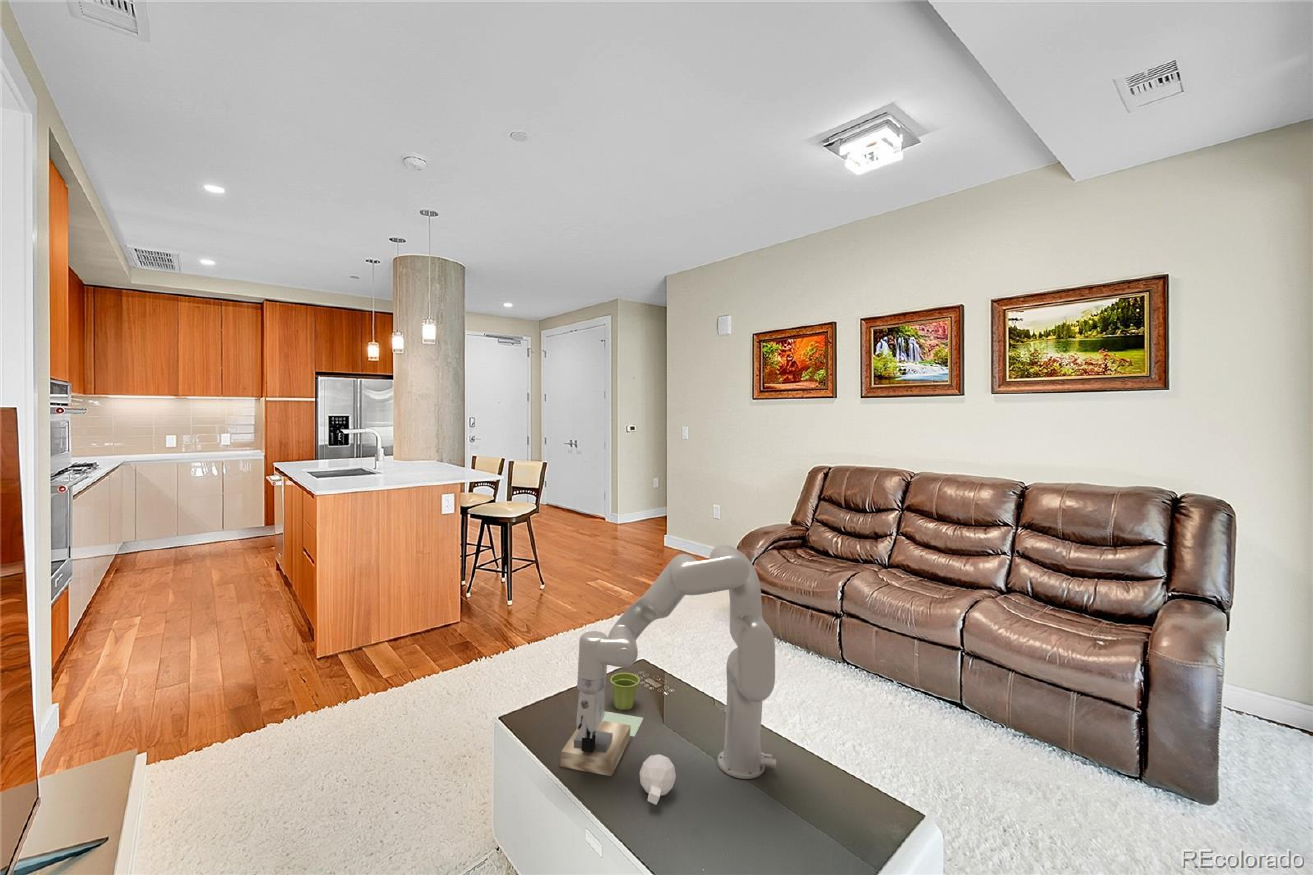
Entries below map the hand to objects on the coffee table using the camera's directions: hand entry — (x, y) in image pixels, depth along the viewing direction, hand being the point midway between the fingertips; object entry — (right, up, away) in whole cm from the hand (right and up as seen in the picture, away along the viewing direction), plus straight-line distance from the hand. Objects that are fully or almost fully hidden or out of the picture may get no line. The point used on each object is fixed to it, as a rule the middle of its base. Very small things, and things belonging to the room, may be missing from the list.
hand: (588, 750), depth 147 cm
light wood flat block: (+1, -5, +8) cm, 9 cm away
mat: (+5, -5, +23) cm, 24 cm away
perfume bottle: (+17, -6, -9) cm, 21 cm away
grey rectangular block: (+1, -1, +5) cm, 5 cm away
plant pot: (+7, -5, +34) cm, 35 cm away
